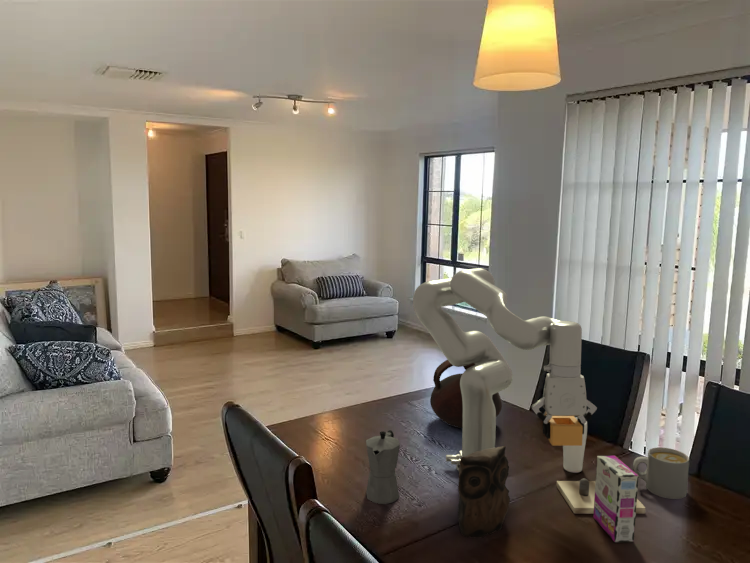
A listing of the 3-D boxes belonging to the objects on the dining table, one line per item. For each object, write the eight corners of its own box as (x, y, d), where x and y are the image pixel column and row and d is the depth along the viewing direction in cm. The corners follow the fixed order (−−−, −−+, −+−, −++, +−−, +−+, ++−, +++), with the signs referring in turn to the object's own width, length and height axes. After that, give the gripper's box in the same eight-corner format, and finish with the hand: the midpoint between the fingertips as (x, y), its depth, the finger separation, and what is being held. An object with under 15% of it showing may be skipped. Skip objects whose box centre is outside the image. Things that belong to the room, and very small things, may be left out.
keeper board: (574, 513, 143) (575, 492, 142) (556, 486, 157) (557, 466, 156) (645, 513, 143) (646, 492, 142) (621, 486, 157) (622, 466, 156)
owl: (510, 519, 141) (512, 442, 138) (502, 547, 129) (504, 464, 126) (460, 509, 145) (461, 434, 142) (447, 535, 134) (449, 455, 131)
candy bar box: (635, 542, 131) (640, 475, 129) (614, 543, 130) (618, 476, 128) (611, 516, 142) (615, 454, 140) (592, 517, 141) (595, 454, 139)
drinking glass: (586, 475, 163) (589, 426, 161) (562, 473, 164) (564, 424, 162) (582, 465, 169) (585, 417, 167) (559, 463, 171) (561, 415, 169)
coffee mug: (687, 486, 156) (690, 452, 155) (684, 502, 148) (687, 466, 147) (635, 474, 164) (637, 441, 162) (629, 489, 155) (632, 454, 154)
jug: (431, 408, 216) (432, 344, 213) (498, 411, 213) (500, 347, 210) (428, 434, 192) (429, 363, 189) (504, 438, 188) (506, 366, 185)
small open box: (552, 445, 142) (552, 426, 142) (544, 434, 150) (545, 415, 149) (582, 445, 142) (582, 426, 142) (572, 434, 149) (573, 415, 149)
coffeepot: (392, 511, 144) (393, 444, 142) (358, 505, 147) (357, 439, 145) (407, 482, 159) (408, 421, 156) (375, 478, 162) (375, 417, 159)
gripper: (533, 374, 140) (532, 442, 143) (604, 374, 140) (602, 442, 142) (526, 366, 148) (525, 431, 150) (594, 365, 147) (592, 431, 149)
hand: (563, 436), depth 146 cm, fingers closed on small open box, 7 cm apart
